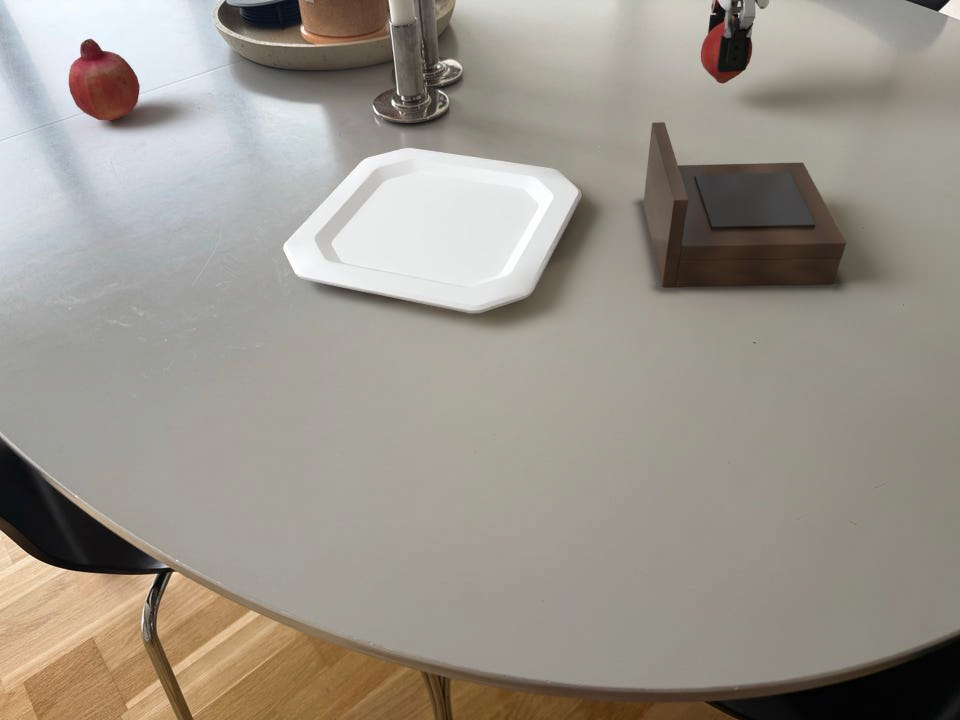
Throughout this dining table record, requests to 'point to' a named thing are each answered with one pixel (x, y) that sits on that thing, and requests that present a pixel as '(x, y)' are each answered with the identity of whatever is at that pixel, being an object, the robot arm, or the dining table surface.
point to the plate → (437, 229)
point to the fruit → (103, 83)
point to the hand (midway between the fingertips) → (725, 57)
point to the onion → (717, 54)
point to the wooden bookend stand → (737, 222)
